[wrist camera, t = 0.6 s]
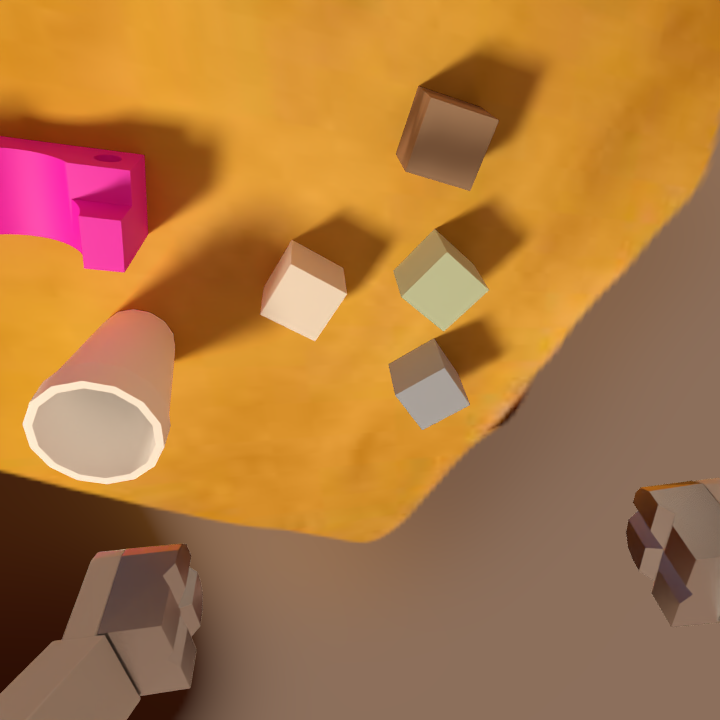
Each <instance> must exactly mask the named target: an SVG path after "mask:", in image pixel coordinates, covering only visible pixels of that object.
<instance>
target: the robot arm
mask: <svg viewBox="0 0 720 720" xmlns="http://www.w3.org/2000/svg"><path fill="white" fill-rule="evenodd" d="M633 503H634V505H635V507H636V508H637V510H638V511H637V512H636V513H635V514H634V515H633V516H632V517H631V518H630V519H629V520H628V524H627V530H626V537H627V544H628V549H629V551H630V554H631V557H632V559H633V561H634V563H635V565H636V567H637V568H638V570H639V571H640V572H641V573H643V574H644V575H646V576H647V577H649V578H650V579H652V580H653V581H654V582H653V588H652V595H653V597H654V598H655V600H656V602H657V603H658V605H659V607H660V608H661V610H662V612H663V614H664V616H665V617H666V619H667V621H668V622H669V624H670V626H671V627H678V626H689V625H699V624H709V623H720V478H714V479H705V480H696V481H686V482H678V483H670V484H663V485H655V486H648V487H640V489H639V490H638V491H637V492H636V493H635V496H634V500H633ZM190 560H191V554H190V551H189V549H188V547H187V544H174V545H163V546H153V547H142V548H131V549H123V550H114V551H104V552H98V553H97V554H96V556H95V557H94V558H93V559H92V561H91V563H90V565H89V568H88V571H87V573H86V576H85V579H84V582H83V584H82V587H81V590H80V592H79V595H78V598H77V601H76V603H75V606H74V609H73V612H72V614H71V617H70V619H69V622H68V625H67V627H66V630H65V633H64V636H63V638H62V640H59V641H53V642H52V643H51V644H50V645H49V646H48V647H47V648H46V649H45V650H44V651H43V652H42V653H41V654H40V655H39V656H38V657H37V658H36V659H35V660H34V661H33V662H32V663H31V664H30V665H29V666H28V667H27V668H26V669H25V670H24V671H23V672H22V673H21V674H20V675H19V676H18V677H17V678H16V679H15V680H14V681H13V682H12V683H11V684H10V685H9V686H8V687H7V688H6V689H5V690H4V691H3V692H2V693H1V694H0V720H126V719H127V718H128V717H129V715H130V714H131V712H132V711H133V709H134V708H135V706H136V705H137V704H138V702H139V701H140V696H142V695H149V694H155V693H161V692H168V691H175V690H180V689H188V688H190V686H191V681H192V675H193V669H194V662H195V656H196V647H195V645H194V642H193V640H192V638H191V636H192V635H193V634H194V633H195V632H196V630H197V629H198V628H199V627H200V625H201V618H202V611H203V592H202V586H201V581H200V578H199V575H198V572H196V571H195V570H193V569H192V568H190V567H189V566H190Z"/></svg>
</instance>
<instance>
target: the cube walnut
mask: <svg viewBox="0 0 720 720" xmlns="http://www.w3.org/2000/svg"><path fill="white" fill-rule="evenodd" d="M498 122H499V120H498V119H497V118H495V117H494V116H492V115H491V114H490V113H488V112H487V111H485V110H484V109H483V108H481V107H479V106H476V105H473V104H470V103H467V102H464V101H461V100H458V99H455V98H453V97H450V96H447V95H444V94H441V93H438V92H435V91H432V90H429V89H426V88H423V87H420V86H418V89H417V92H416V95H415V98H414V101H413V104H412V107H411V110H410V113H409V116H408V119H407V122H406V125H405V128H404V131H403V134H402V137H401V140H400V143H399V146H398V149H397V152H396V155H397V157H398V159H399V160H400V162H401V164H402V166H403V168H404V170H405V171H406V172H409V173H412V174H416V175H419V176H422V177H426V178H429V179H432V180H436V181H439V182H442V183H445V184H449V185H452V186H455V187H459V188H462V189H465V190H469V191H470V190H471V188H472V185H473V183H474V180H475V178H476V175H477V173H478V171H479V168H480V166H481V163H482V161H483V158H484V156H485V153H486V151H487V149H488V146H489V144H490V141H491V139H492V136H493V134H494V132H495V129H496V127H497V124H498Z"/></svg>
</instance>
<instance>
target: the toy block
mask: <svg viewBox="0 0 720 720" xmlns="http://www.w3.org/2000/svg"><path fill="white" fill-rule="evenodd" d="M0 234H21V235H32V236H40V237H45V238H50V239H54V240H58V241H61V242H64V243H66V244H69V245H71V246H73V247H74V248H76V249H77V250H79V251H80V252H81V253H82V254H83V262H84V268H86V269H96V270H106V271H116V272H125V271H126V269H127V268H128V266H129V264H130V263H131V261H132V260H133V258H134V256H135V255H136V253H137V251H138V250H139V248H140V247H141V245H142V243H143V242H144V240H145V238H146V237H147V235H148V221H147V199H146V177H145V155H141V154H134V153H126V152H118V151H111V150H103V149H95V148H88V147H80V146H72V145H65V144H57V143H49V142H42V141H34V140H26V139H19V138H11V137H3V136H0Z"/></svg>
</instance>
